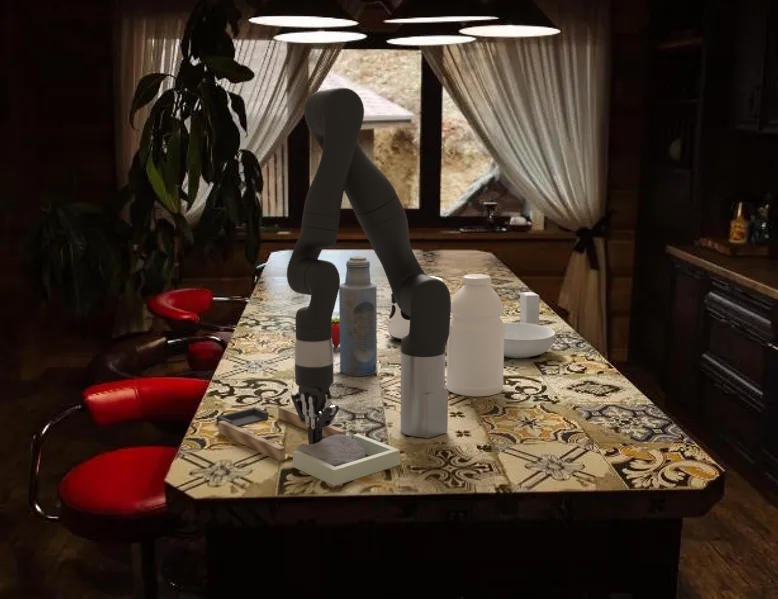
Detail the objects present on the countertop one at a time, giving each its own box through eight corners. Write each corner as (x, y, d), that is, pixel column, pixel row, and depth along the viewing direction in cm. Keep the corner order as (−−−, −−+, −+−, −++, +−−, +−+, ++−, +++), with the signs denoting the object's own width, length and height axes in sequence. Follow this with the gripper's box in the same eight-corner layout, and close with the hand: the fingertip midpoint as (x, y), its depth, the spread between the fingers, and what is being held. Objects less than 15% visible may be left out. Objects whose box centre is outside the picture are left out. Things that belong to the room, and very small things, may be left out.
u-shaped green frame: (399, 464, 184) (399, 449, 184) (334, 485, 174) (334, 470, 173) (357, 447, 194) (357, 433, 193) (293, 466, 183) (292, 451, 183)
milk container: (458, 341, 283) (459, 281, 280) (410, 349, 274) (410, 286, 270) (423, 330, 297) (423, 272, 294) (376, 337, 288) (376, 278, 284)
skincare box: (539, 334, 292) (541, 295, 290) (525, 335, 291) (526, 295, 289) (532, 329, 298) (533, 291, 296) (518, 330, 297) (519, 291, 295)
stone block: (370, 472, 186) (341, 448, 193) (373, 450, 184) (343, 427, 192) (319, 488, 179) (291, 463, 186) (321, 466, 177) (292, 441, 185)
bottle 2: (438, 393, 231) (440, 278, 225) (454, 379, 243) (456, 269, 238) (496, 400, 226) (499, 282, 220) (509, 384, 239) (512, 273, 233)
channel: (345, 442, 197) (345, 430, 196) (279, 461, 186) (279, 449, 186) (282, 417, 213) (282, 406, 212) (218, 433, 202) (218, 421, 202)
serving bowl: (520, 368, 254) (521, 342, 253) (463, 353, 270) (464, 329, 268) (570, 355, 268) (571, 331, 266) (513, 341, 283) (514, 318, 282)
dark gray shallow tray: (268, 418, 212) (268, 412, 211) (229, 428, 205) (229, 421, 205) (255, 413, 215) (255, 407, 215) (216, 423, 209) (216, 416, 208)
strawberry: (345, 343, 280) (345, 310, 278) (348, 350, 272) (347, 315, 270) (325, 344, 279) (325, 310, 277) (327, 350, 271) (326, 316, 270)
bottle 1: (348, 378, 244) (347, 261, 238) (334, 368, 253) (333, 255, 247) (382, 374, 248) (382, 258, 242) (368, 365, 256) (368, 253, 251)
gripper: (350, 363, 185) (351, 449, 188) (309, 351, 195) (310, 432, 198) (319, 370, 180) (320, 458, 183) (278, 357, 190) (280, 440, 193)
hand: (315, 445), depth 191 cm, fingers closed
